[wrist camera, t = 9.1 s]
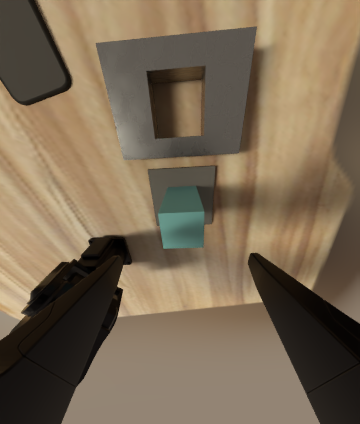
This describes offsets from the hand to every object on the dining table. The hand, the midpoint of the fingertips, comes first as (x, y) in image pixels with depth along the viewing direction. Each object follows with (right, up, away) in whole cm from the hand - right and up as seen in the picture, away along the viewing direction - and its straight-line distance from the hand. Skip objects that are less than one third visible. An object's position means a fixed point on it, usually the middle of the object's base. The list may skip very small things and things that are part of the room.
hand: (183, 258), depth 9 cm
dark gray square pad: (0, +5, +10) cm, 12 cm away
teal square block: (0, +5, +10) cm, 11 cm away
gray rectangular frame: (0, +15, +6) cm, 16 cm away
